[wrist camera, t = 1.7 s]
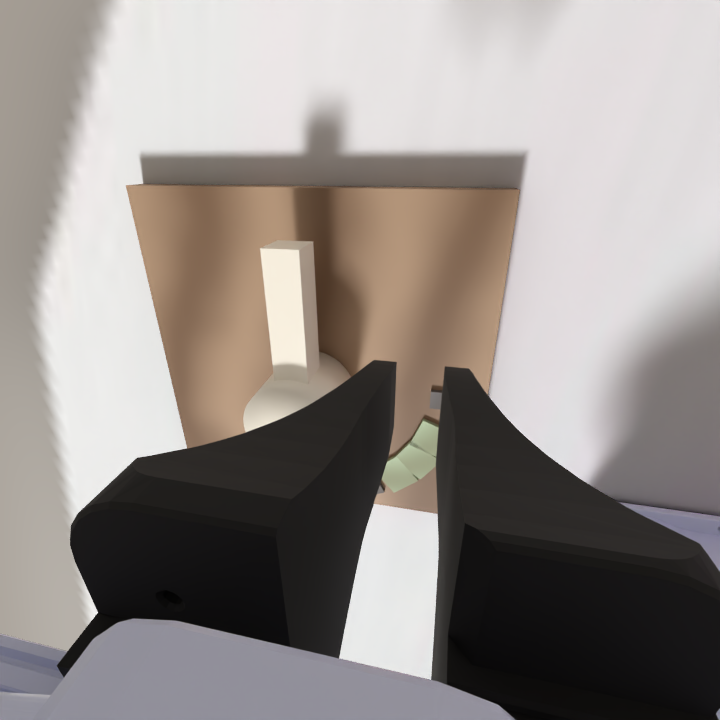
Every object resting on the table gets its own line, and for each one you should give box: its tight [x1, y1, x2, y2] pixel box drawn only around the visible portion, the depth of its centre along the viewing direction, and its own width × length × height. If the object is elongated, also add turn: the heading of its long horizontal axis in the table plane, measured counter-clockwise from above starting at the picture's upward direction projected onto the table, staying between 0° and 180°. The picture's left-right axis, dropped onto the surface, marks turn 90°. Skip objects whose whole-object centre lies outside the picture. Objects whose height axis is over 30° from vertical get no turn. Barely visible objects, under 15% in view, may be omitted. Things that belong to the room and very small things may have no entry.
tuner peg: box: [243, 240, 351, 432], centre depth 20 cm, size 16×4×5 cm, turn 0°
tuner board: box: [126, 184, 520, 514], centre depth 22 cm, size 18×18×2 cm
